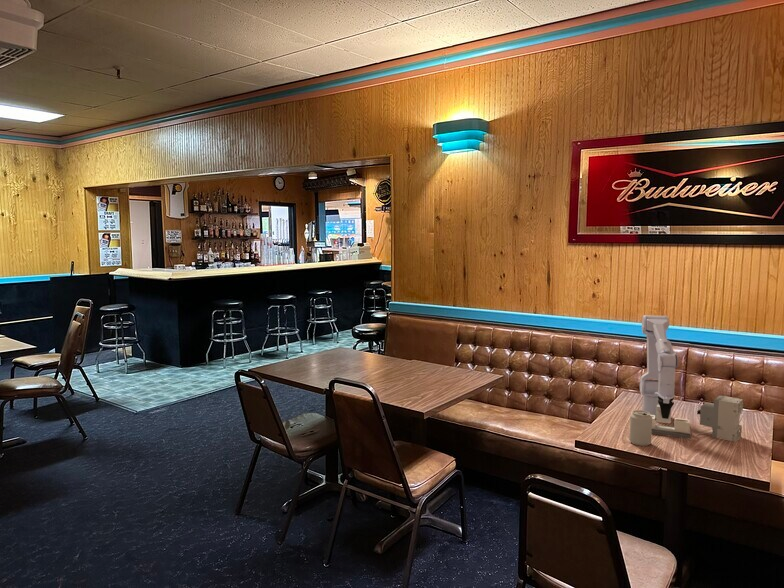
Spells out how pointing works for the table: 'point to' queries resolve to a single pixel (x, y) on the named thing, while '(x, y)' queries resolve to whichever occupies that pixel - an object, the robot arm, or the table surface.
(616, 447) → the table surface
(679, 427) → the rail plate
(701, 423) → the circuit breaker
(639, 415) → the can
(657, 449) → the table surface
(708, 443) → the table surface
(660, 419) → the block
